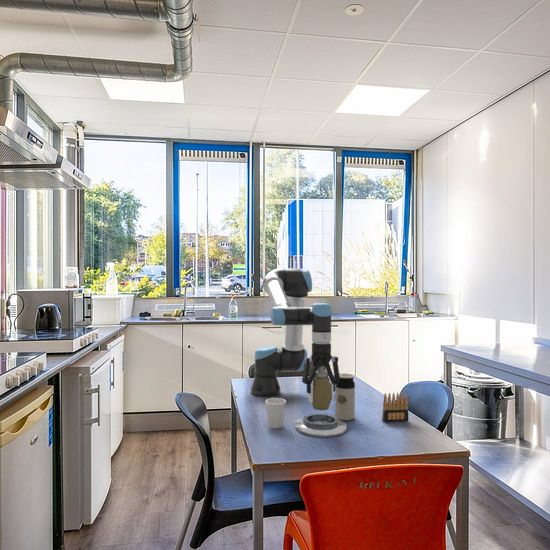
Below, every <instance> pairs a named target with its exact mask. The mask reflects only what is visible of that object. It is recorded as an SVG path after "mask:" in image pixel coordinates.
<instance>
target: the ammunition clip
mask: <svg viewBox="0 0 550 550" xmlns="http://www.w3.org/2000/svg"><path fill="white" fill-rule="evenodd" d="M382 404H383V407H382V408H383V409H382V415H381V416H382V418H381V421H382V423H384V422H393V423H408V422H407V421H409V422H410V420H409V403H408V394H407V392H405V393H404V394H403V392H401V393H400V394H399V392H397V393H396V395H395V392H393V393H392V395H391V392H388V396H387V393H386V392H385V393H384V395H383V403H382ZM405 421H406V422H405Z"/></svg>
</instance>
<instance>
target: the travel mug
mask: <svg viewBox="0 0 550 550" xmlns="http://www.w3.org/2000/svg"><path fill="white" fill-rule="evenodd" d="M339 376H340V381H339V382H337V384H335V417H336V418H338V419H339V420H341V421H352V420H354V419H355V417H356V416H355V414H356V412H355V409H356V408H355V407H356V406H355V404H356V396H355V395H356V394H355V391H356V383H355V381H354V378H355V375H354V374H351V373H346V372H345V373H339Z"/></svg>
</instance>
